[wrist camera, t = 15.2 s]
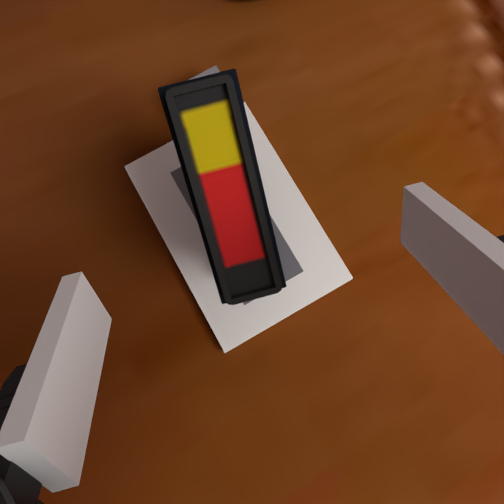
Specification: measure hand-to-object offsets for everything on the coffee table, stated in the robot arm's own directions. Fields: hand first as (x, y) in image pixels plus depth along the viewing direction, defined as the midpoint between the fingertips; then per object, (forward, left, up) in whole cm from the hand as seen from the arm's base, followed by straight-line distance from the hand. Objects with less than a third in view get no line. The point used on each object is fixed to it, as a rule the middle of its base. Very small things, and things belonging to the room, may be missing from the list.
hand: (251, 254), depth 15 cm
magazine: (-5, +1, -15) cm, 16 cm away
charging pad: (-7, +1, -16) cm, 17 cm away
